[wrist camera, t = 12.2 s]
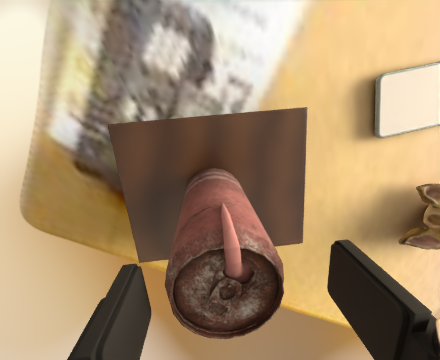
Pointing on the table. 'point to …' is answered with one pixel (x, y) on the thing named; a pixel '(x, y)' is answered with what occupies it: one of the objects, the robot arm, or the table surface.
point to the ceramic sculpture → (427, 220)
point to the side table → (207, 159)
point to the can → (222, 261)
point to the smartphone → (407, 100)
